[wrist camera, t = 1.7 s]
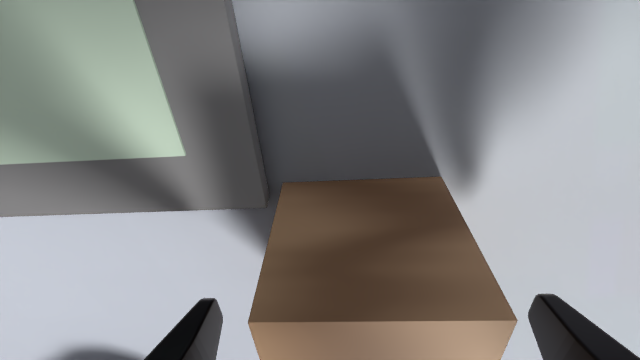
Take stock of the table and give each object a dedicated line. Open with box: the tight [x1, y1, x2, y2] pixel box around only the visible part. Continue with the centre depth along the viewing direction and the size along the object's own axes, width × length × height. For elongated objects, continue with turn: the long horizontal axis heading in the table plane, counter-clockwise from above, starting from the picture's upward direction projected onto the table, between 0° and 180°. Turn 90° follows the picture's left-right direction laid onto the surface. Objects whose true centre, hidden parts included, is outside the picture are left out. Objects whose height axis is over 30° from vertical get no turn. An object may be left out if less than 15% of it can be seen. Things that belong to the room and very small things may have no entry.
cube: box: [248, 177, 518, 360], centre depth 9 cm, size 5×5×5 cm
